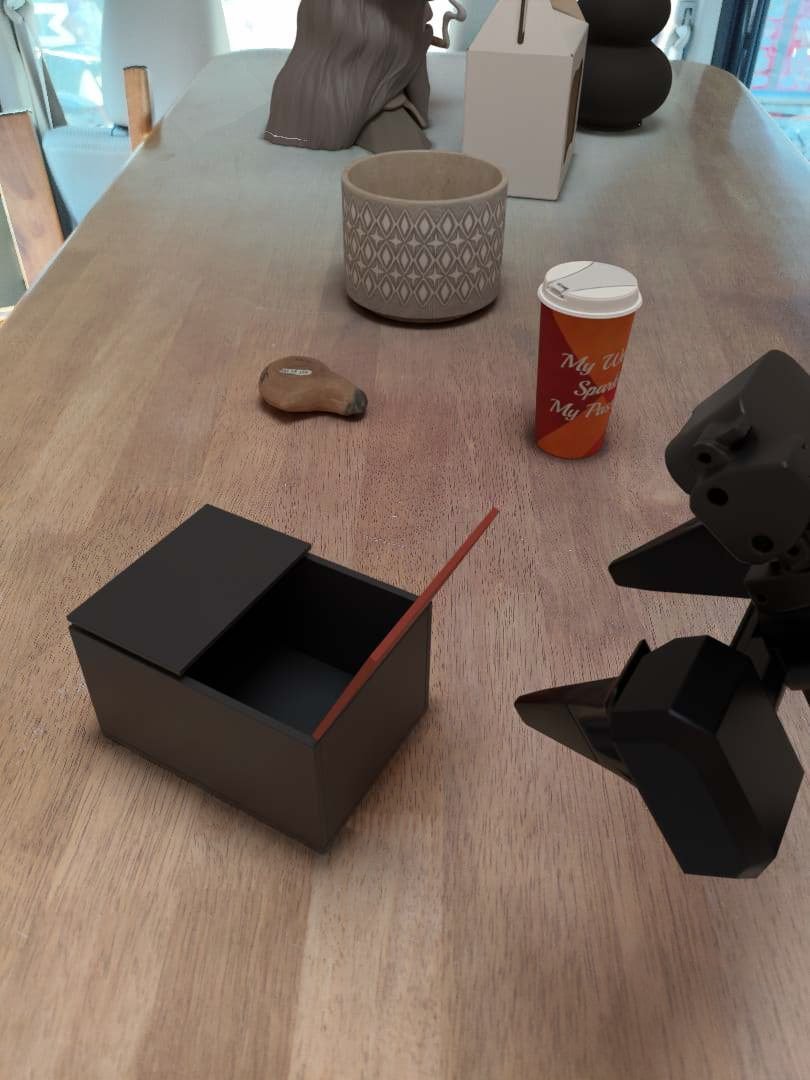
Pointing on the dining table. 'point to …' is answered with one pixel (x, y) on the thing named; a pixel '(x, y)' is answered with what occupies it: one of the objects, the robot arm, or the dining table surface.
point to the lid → (403, 625)
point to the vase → (623, 63)
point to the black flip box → (254, 670)
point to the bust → (357, 76)
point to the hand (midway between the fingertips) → (570, 636)
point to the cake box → (526, 92)
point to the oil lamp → (309, 387)
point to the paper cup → (581, 353)
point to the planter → (423, 233)
